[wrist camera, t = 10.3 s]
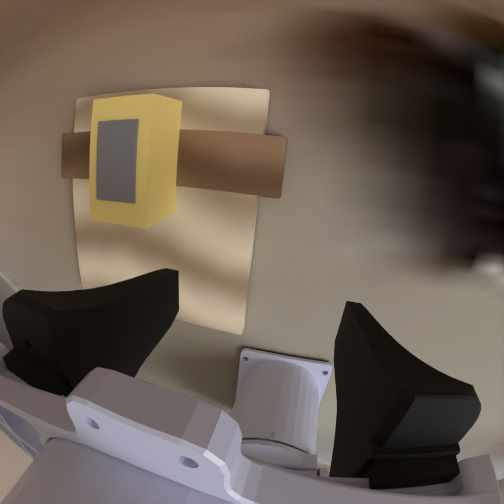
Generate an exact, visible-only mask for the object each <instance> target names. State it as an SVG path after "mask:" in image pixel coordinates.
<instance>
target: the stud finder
mask: <svg viewBox="0 0 504 504" xmlns="http://www.w3.org/2000/svg"><path fill="white" fill-rule="evenodd" d="M181 111H182V101H180V100H176V99H172V98H169V97H165V96H161V95H157V94H140V95H128V96H119V97H110V98H102V99H95V100H93V108H92V120H91V136H90V164H89V189H90V218H91V220H94V221H100V222H106V223H113V224H119V225H125V226H132V227H138V228H144V229H147V228H149V227H151V226H153V225H155V224H157V223H158V222H160V221H162V220H164V219H166V218H168V217H170V216H172V215H174V214H175V196H176V176H177V159H178V145H179V133H180V121H181Z"/></svg>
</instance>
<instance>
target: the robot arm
mask: <svg viewBox="0 0 504 504" xmlns="http://www.w3.org/2000/svg"><path fill="white" fill-rule="evenodd" d="M2 311H3V318H4V321H5V325H6V327H7V330H8V333H9V336H10V338H11V341H12V344H13V346H14V348H13V349H12V350H11V351H10V352H9V350H8V349H7V348H6V347H5V346H4V345H3V344H2V343H0V429H1V430H2V431H3V432H4V433H5V434H6V435H7V436H8V437H9V438H10V439H11V440H12V441H13V442H14V443H15V444H16V445H18V446H19V447H20V448H21V449H22V450H23V451H24V452H25V453H26V454H28V455H29V456H30V457H31V458H32V459H33V460H34V461H33V462H32V463H31V464H30V466H29V467H28V468H27V470H26V471H25V472H24V473H23V475H22V476H21V477H20V478H19V480H18V481H17V482H16V484H15V485H14V487H13V488H12V489H11V490H10V492H9V493H8V494H7V496H6V497H5V498H4V500H3V501H2V502H1V504H503V502H502V497H501V493H500V489H499V485H498V481H497V478H496V474H495V471H494V467H493V464H492V461H491V457H490V455H488V454H487V455H482V456H477V457H471V458H467V459H464V460H462V461H460V462H457V458H456V455H458V454H459V452H460V447H459V444H458V442H459V441H460V440H461V439H462V438H463V437H464V435H465V434H466V433H467V432H468V431H469V430H470V428H471V427H472V426H473V425H474V423H475V422H476V420H477V418H478V417H479V414H480V411H481V403H480V401H479V399H478V396H477V394H476V392H475V390H474V387H473V385H470V384H468V383H465V382H462V381H460V380H457V379H455V378H452V377H450V376H448V375H446V374H444V373H442V372H440V371H438V370H436V369H434V368H432V367H431V366H429V365H427V364H426V363H424V362H423V361H421V360H420V359H418V358H417V357H415V356H414V355H413V354H411V353H410V352H409V351H408V350H406V349H405V348H404V347H403V346H401V345H400V344H399V343H398V342H397V341H396V340H395V339H394V338H393V337H392V336H391V335H390V334H389V333H388V332H387V331H386V330H385V329H384V328H383V327H382V326H381V325H380V324H379V323H378V322H377V321H376V319H375V318H374V317H373V316H372V315H371V314H370V313H369V311H368V310H367V309H366V308H365V307H364V306H363V305H362V304H361V303H356V302H349V301H347V302H346V305H345V309H344V312H343V316H342V319H341V323H340V326H339V329H338V333H337V336H336V339H335V348H334V369H335V382H336V396H337V417H336V430H335V439H334V448H333V455H332V461H331V468H330V472H328V469H327V468H318V470H317V462H318V455H315V449H316V436H317V422H318V406H319V403H320V401H321V398H322V395H323V393H324V390H325V388H326V385H327V382H328V380H329V377H330V374H331V372H332V364H331V363H329V362H323V361H317V360H310V359H304V358H298V357H292V356H286V355H281V354H275V353H270V352H265V351H259V350H254V349H250V348H244V349H242V351H241V354H240V364H239V373H238V382H237V391H236V399H235V402H234V405H233V408H232V411H231V413H230V415H228V414H227V413H226V412H225V411H224V410H223V409H222V408H220V407H217V406H215V405H212V404H210V403H208V402H206V401H203V400H201V399H197V398H194V397H190V396H187V395H184V394H180V393H177V392H174V391H171V390H168V389H165V388H162V387H159V386H156V385H153V384H150V383H147V382H144V381H141V380H139V379H136V378H134V377H135V376H136V374H137V372H138V370H139V369H140V367H141V365H142V364H143V362H144V361H145V360H146V358H147V357H148V356H149V354H150V353H151V352H152V350H153V349H154V348H155V347H156V345H157V344H158V343H159V341H160V340H161V339H162V337H163V336H164V335H165V333H166V332H167V331H168V329H169V328H170V327H171V325H172V323H173V321H174V320H175V318H176V316H177V314H178V312H179V271H178V270H174V269H169V268H164V269H159V270H156V271H152V272H149V273H146V274H143V275H140V276H137V277H134V278H131V279H128V280H124V281H121V282H117V283H114V284H110V285H106V286H102V287H97V288H91V289H84V290H75V291H59V292H48V291H33V290H24V289H23V290H20V291H18V292H17V293H15V294H14V295H12V296H11V297H9V298H7V299H6V300H5V301H4V303H3V309H2ZM244 357H247V358H248V359H246V358H244ZM323 371H327V372H323Z"/></svg>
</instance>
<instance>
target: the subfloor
mask: <svg viewBox="0 0 504 504" xmlns="http://www.w3.org/2000/svg"><path fill="white" fill-rule="evenodd" d="M140 94H157V95H161V96H165V97H169V98H172V99H176V100H180V101H182V111H181V121H180V133H179V145H178V159H177V176H176V196H175V214H174V215H172V216H170V217H168V218H166V219H164V220H162V221H160V222H158V223H157V224H155V225H153V226H151V227H149V228H147V229H144V228H138V227H132V226H125V225H119V224H113V223H106V222H100V221H94V220H91V218H90V189H89V164H90V136H91V120H92V108H93V100H95V99H102V98H110V97H119V96H128V95H140ZM269 96H270V92H269V91H268V90H267V89H252V88H230V87H183V88H161V89H147V90H135V91H125V92H117V93H109V94H102V95H95V96H89V97H83V98H77V99H76V109H75V121H74V133H64V134H63V139H62V178H72V179H73V203H74V221H75V233H76V244H77V253H78V261H79V269H80V276H81V283H82V289H83V290H84V289H91V288H97V287H102V286H106V285H110V284H114V283H117V282H121V281H124V280H128V279H131V278H134V277H137V276H140V275H143V274H146V273H149V272H152V271H156V270H159V269H164V268H169V269H174V270H178V271H179V312H178V314H177V316H176V318H175V320H179V321H183V322H187V323H191V324H195V325H199V326H204V327H208V328H212V329H216V330H221V331H225V332H230V333H235V334H239V335H241V334H242V332H243V329H244V324H245V315H246V306H247V297H248V288H249V279H250V269H251V260H252V251H253V242H254V233H255V224H256V215H257V206H258V197H259V196H263V197H270V198H277V199H279V198H280V197H281V190H282V182H283V174H284V166H285V157H286V149H287V140H288V138H287V137H281V136H272V135H265V133H266V124H267V114H268V105H269Z"/></svg>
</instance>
